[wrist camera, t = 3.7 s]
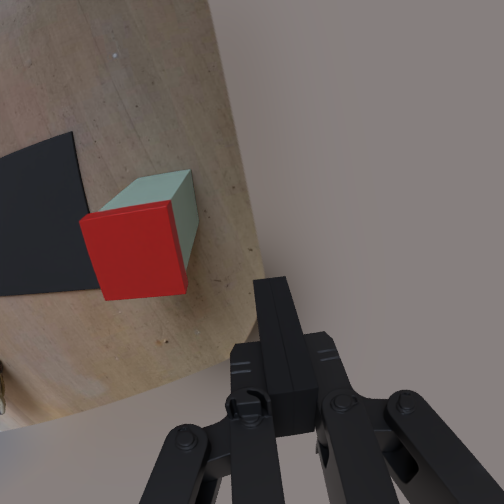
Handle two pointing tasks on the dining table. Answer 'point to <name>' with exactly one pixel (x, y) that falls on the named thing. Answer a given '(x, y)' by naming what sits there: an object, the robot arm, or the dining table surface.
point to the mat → (43, 220)
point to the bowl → (2, 392)
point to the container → (144, 237)
